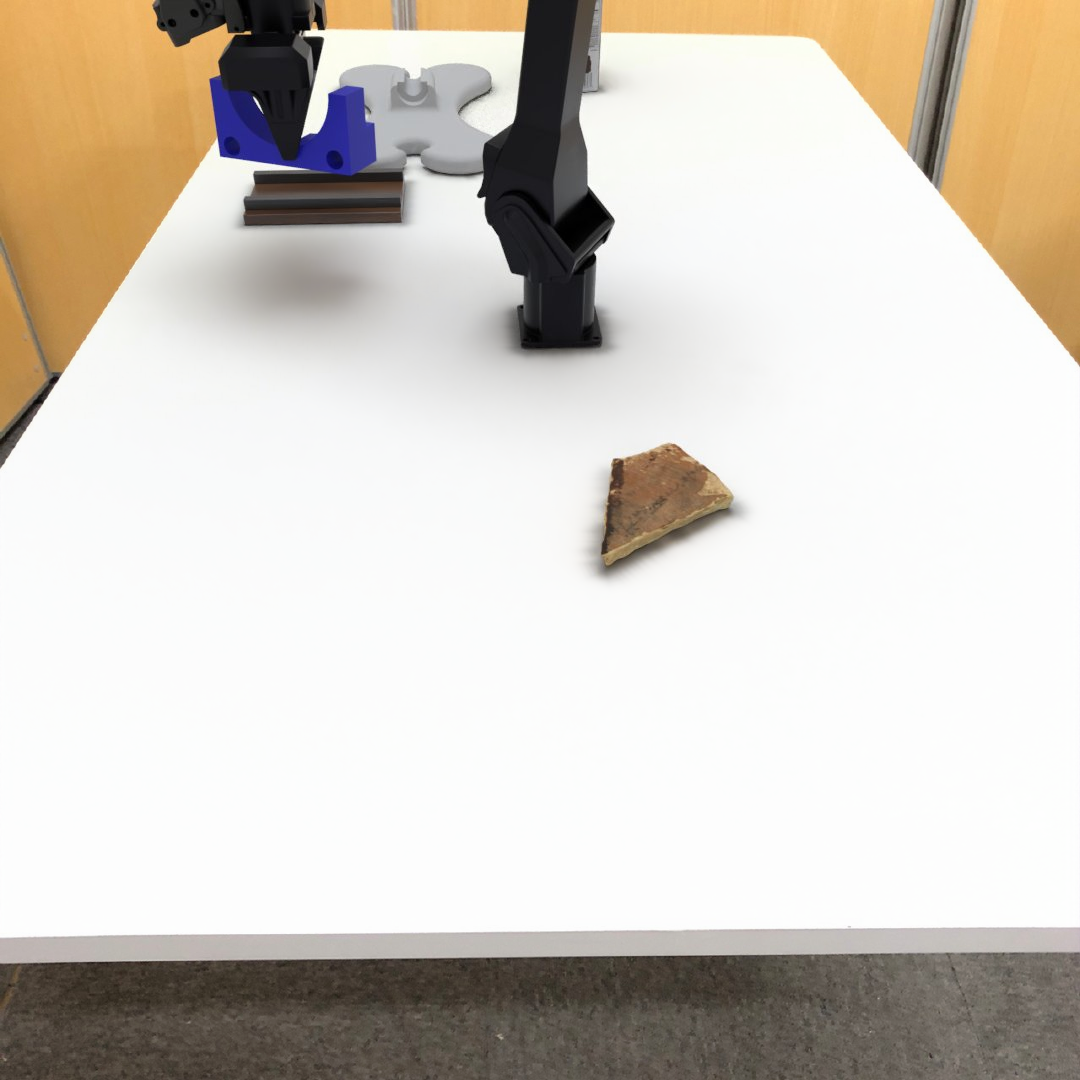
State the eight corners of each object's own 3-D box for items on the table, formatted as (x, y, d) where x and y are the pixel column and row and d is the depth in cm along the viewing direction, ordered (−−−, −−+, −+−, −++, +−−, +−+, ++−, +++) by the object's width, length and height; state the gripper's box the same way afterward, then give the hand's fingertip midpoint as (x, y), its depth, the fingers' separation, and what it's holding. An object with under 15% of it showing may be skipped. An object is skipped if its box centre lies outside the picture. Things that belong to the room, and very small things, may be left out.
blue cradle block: (376, 160, 88) (372, 83, 84) (351, 175, 84) (345, 95, 81) (249, 142, 91) (240, 67, 87) (220, 156, 87) (209, 78, 84)
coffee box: (530, 74, 139) (531, -65, 129) (577, 70, 141) (581, -68, 130) (552, 95, 133) (554, -50, 122) (600, 91, 134) (606, -53, 124)
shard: (600, 573, 63) (601, 551, 62) (529, 508, 68) (529, 485, 67) (736, 511, 68) (739, 489, 67) (661, 454, 73) (663, 432, 72)
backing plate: (401, 222, 103) (400, 201, 101) (244, 225, 102) (241, 204, 100) (404, 182, 110) (403, 163, 109) (259, 185, 109) (255, 166, 108)
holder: (490, 77, 138) (489, 36, 135) (504, 175, 112) (503, 127, 109) (342, 80, 137) (338, 38, 134) (322, 179, 111) (316, 131, 108)
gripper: (172, -92, 83) (209, 112, 93) (120, -40, 69) (171, 194, 79) (315, -93, 84) (337, 109, 94) (293, -41, 70) (322, 191, 80)
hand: (292, 147), depth 87 cm, fingers closed on blue cradle block, 5 cm apart
